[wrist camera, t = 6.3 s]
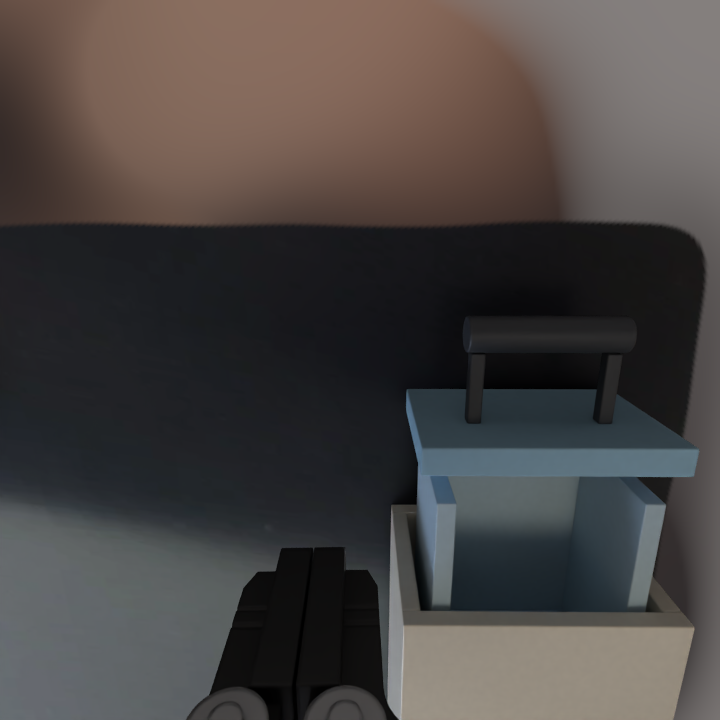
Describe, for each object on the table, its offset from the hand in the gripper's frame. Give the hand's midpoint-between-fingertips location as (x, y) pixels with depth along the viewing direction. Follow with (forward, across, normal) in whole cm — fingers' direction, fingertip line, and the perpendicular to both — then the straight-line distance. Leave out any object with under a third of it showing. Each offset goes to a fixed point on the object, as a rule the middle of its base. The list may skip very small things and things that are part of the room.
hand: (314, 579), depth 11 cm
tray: (+14, -9, +4) cm, 17 cm away
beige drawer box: (+15, -9, +14) cm, 22 cm away
